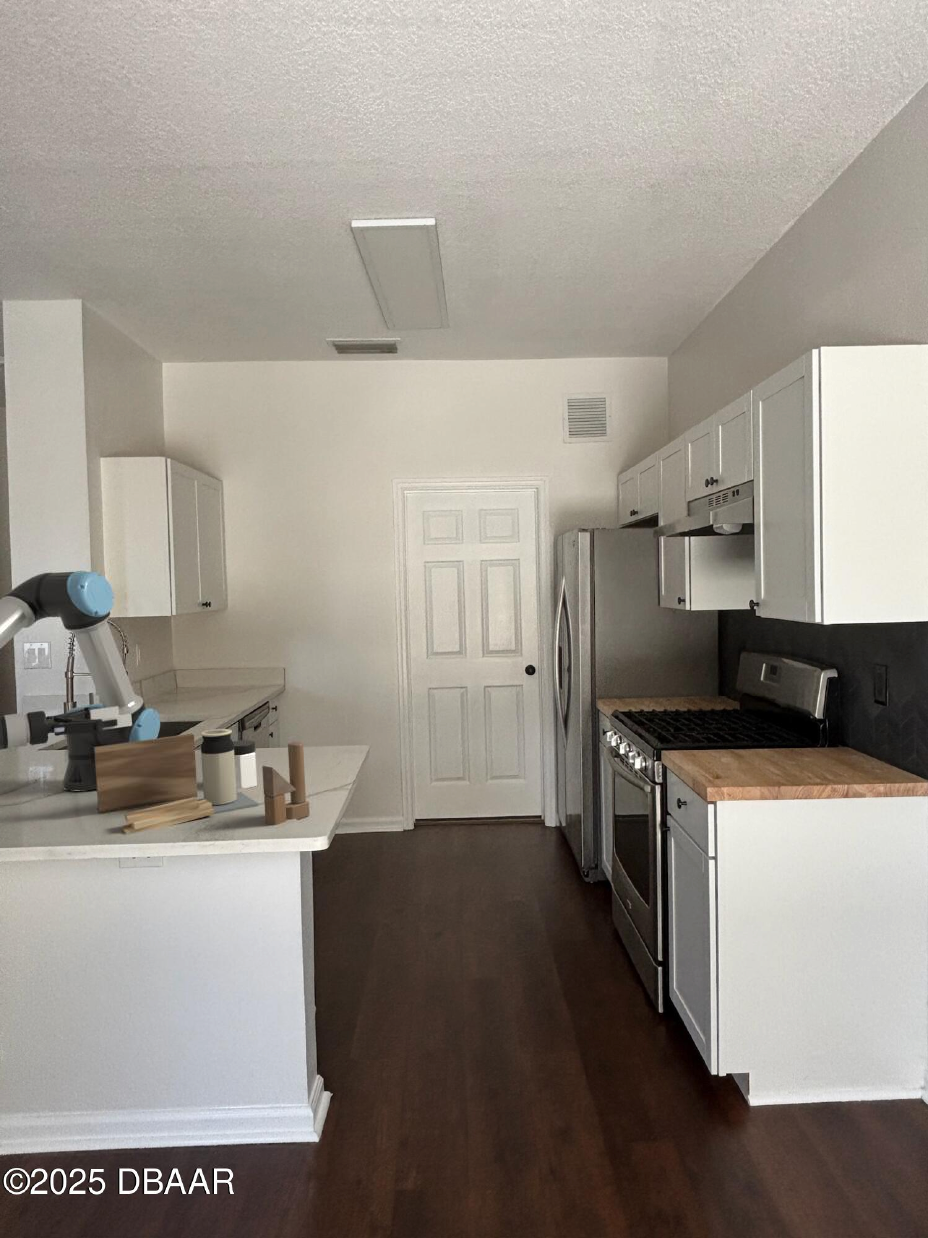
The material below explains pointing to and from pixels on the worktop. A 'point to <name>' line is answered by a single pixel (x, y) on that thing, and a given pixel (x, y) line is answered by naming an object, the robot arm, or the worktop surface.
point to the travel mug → (218, 767)
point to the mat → (235, 804)
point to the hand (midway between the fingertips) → (124, 715)
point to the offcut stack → (166, 815)
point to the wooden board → (145, 773)
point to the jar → (245, 764)
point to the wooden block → (286, 789)
